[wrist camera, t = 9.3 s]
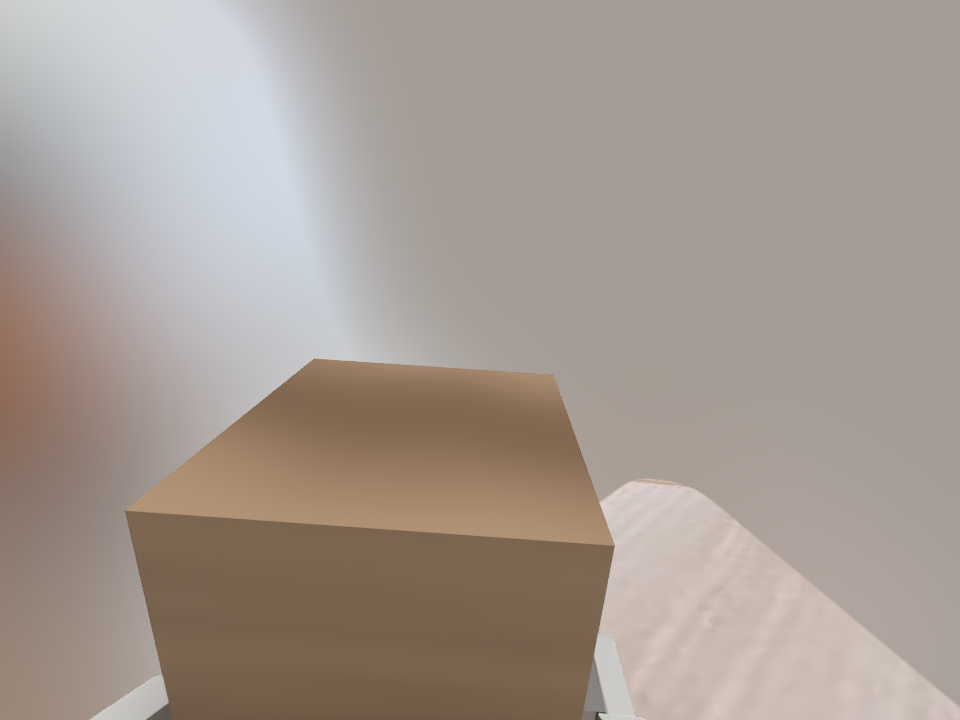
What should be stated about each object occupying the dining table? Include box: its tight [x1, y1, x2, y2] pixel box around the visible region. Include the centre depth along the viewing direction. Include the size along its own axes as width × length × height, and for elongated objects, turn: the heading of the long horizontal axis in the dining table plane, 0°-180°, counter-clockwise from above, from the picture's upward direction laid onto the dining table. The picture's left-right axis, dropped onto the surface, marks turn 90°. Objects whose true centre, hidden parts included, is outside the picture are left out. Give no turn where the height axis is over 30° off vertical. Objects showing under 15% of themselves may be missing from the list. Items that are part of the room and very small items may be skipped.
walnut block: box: [125, 359, 615, 720], centre depth 9 cm, size 5×5×13 cm
